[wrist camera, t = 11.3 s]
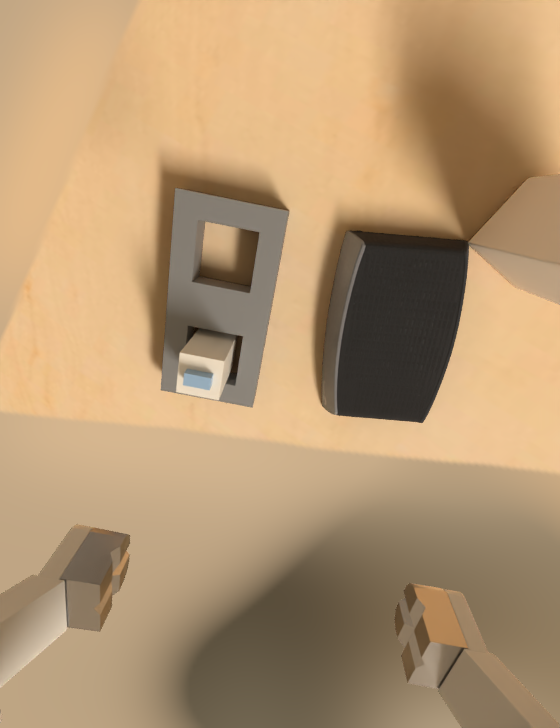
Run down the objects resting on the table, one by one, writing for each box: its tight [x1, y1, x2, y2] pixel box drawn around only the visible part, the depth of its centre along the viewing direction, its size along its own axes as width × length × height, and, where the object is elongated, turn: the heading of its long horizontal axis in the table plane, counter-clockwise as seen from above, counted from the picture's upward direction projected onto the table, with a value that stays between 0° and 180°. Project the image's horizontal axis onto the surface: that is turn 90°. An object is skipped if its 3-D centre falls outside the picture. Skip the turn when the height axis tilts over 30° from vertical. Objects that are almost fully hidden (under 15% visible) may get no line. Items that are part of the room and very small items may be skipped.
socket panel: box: [161, 188, 289, 408], centre depth 38 cm, size 20×10×3 cm, turn 169°
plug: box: [176, 328, 238, 400], centre depth 37 cm, size 4×4×9 cm
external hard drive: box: [322, 231, 469, 423], centre depth 39 cm, size 13×19×4 cm
